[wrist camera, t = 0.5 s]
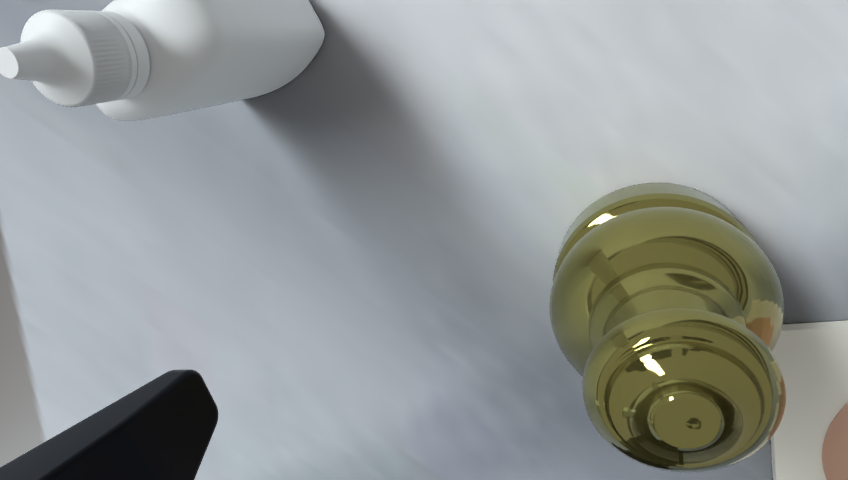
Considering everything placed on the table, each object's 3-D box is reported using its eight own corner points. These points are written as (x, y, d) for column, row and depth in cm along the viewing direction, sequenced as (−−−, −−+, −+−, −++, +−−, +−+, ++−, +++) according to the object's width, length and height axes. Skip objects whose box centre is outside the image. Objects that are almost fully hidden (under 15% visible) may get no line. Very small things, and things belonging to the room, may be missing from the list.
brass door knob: (520, 249, 24) (477, 383, 15) (676, 139, 21) (737, 225, 12) (626, 374, 25) (646, 573, 16) (792, 286, 22) (934, 472, 13)
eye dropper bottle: (205, -8, 24) (-112, -35, 13) (326, -12, 23) (80, -46, 12) (220, 97, 26) (-53, 149, 15) (333, 99, 24) (122, 159, 13)
